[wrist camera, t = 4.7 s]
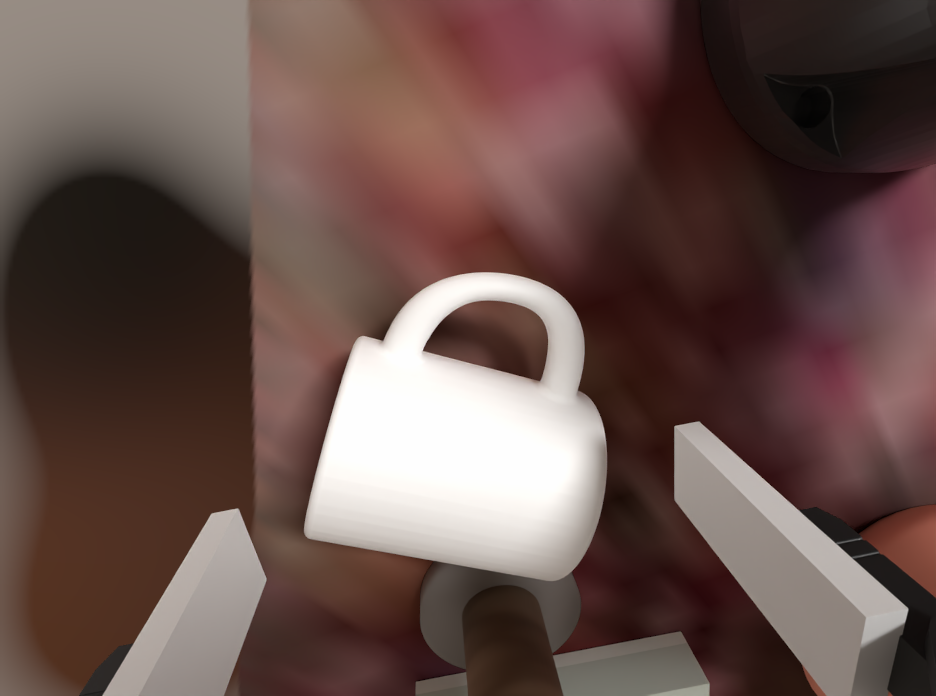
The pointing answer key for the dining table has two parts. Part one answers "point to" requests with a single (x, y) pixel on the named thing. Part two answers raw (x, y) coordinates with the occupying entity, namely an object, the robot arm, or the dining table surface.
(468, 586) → the bobbin
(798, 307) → the dining table surface
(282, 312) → the dining table surface
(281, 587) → the dining table surface
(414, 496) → the mug
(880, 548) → the teapot
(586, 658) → the notched board
